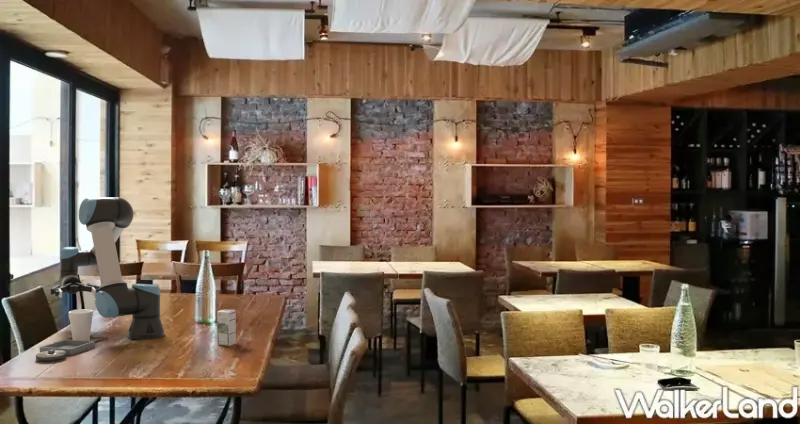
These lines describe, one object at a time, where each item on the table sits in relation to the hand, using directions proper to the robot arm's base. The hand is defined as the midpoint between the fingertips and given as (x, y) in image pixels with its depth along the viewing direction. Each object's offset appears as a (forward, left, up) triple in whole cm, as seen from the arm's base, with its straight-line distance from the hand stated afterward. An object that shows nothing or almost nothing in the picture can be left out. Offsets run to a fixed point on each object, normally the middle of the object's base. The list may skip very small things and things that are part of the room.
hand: (78, 294), depth 307 cm
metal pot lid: (-15, +36, -19) cm, 43 cm away
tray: (-11, +22, -19) cm, 31 cm away
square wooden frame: (-5, +6, -19) cm, 21 cm away
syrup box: (-68, -4, -20) cm, 71 cm away
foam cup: (-5, +6, -20) cm, 21 cm away
